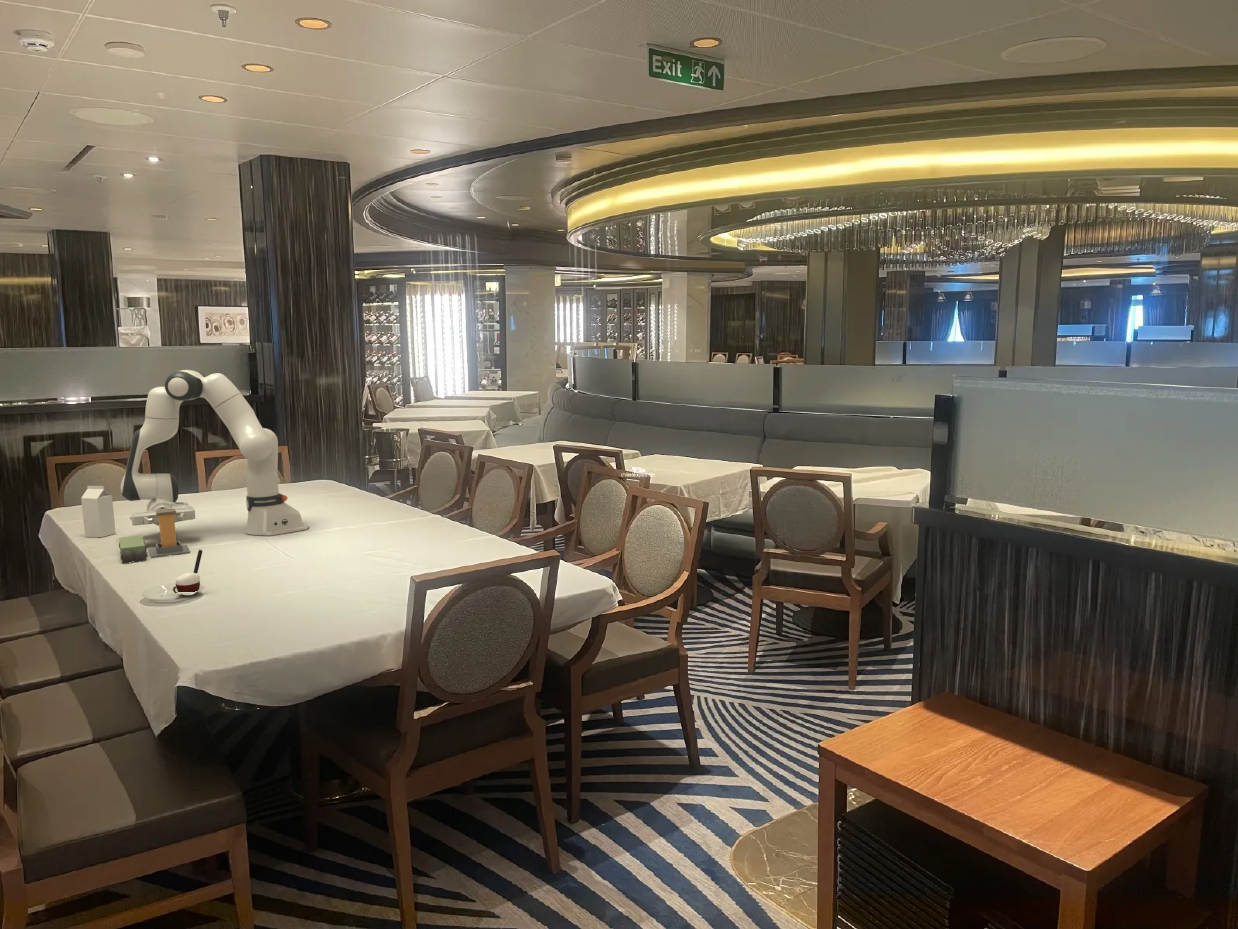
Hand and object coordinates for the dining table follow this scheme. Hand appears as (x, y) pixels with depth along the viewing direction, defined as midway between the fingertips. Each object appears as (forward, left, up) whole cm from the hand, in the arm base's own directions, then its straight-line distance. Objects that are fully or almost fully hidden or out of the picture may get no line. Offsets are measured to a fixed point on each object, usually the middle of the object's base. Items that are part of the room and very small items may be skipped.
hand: (165, 520), depth 302 cm
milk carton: (+20, -37, -10) cm, 43 cm away
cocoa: (-1, +65, -10) cm, 66 cm away
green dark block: (+11, +5, -10) cm, 16 cm away
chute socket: (0, +6, -10) cm, 12 cm away
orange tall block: (0, +6, -9) cm, 11 cm away
